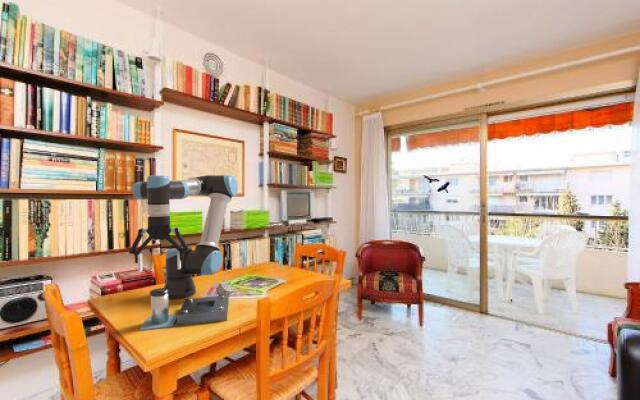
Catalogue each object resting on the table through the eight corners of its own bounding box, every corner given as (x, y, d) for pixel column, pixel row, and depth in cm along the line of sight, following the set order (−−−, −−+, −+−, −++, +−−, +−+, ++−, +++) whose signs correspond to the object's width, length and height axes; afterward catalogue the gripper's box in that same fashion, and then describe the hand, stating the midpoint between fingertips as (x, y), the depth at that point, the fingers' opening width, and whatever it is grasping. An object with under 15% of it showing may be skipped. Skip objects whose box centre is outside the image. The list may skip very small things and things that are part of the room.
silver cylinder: (152, 318, 115) (152, 288, 115) (171, 316, 117) (171, 287, 117) (147, 326, 109) (147, 294, 109) (167, 324, 111) (167, 292, 110)
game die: (222, 307, 138) (210, 294, 133) (220, 295, 145) (209, 282, 140) (239, 297, 139) (228, 283, 134) (237, 286, 146) (226, 272, 141)
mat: (148, 318, 117) (148, 317, 117) (178, 315, 120) (178, 314, 120) (139, 330, 106) (139, 329, 106) (172, 327, 109) (172, 325, 109)
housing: (185, 308, 128) (185, 297, 127) (228, 303, 132) (228, 293, 132) (177, 325, 110) (177, 313, 110) (227, 320, 115) (226, 308, 115)
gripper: (117, 217, 105) (119, 275, 106) (192, 215, 112) (193, 270, 113) (125, 215, 112) (127, 269, 113) (195, 213, 119) (196, 265, 120)
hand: (160, 270), depth 113 cm, fingers open, 13 cm apart
